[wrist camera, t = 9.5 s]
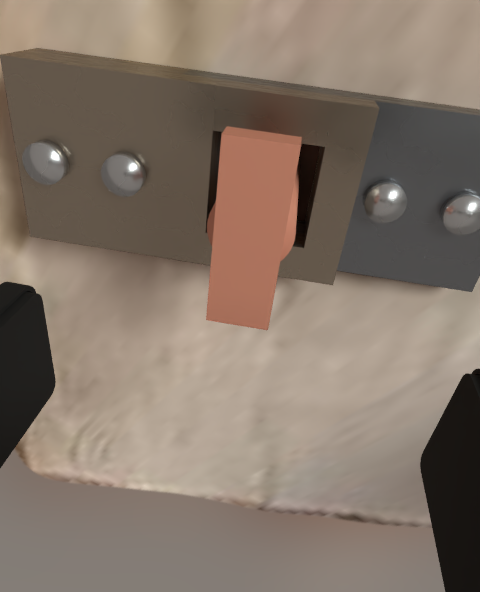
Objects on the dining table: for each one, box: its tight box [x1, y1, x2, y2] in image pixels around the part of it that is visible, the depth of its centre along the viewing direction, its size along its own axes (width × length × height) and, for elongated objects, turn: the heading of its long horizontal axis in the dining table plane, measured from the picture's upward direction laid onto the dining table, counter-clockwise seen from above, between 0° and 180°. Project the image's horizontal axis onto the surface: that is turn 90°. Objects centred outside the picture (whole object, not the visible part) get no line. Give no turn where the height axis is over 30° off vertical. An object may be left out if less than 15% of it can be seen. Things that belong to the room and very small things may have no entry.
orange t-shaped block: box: [206, 126, 302, 330], centre depth 19 cm, size 3×7×8 cm, turn 174°
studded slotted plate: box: [0, 48, 480, 292], centre depth 21 cm, size 22×8×4 cm, turn 84°
